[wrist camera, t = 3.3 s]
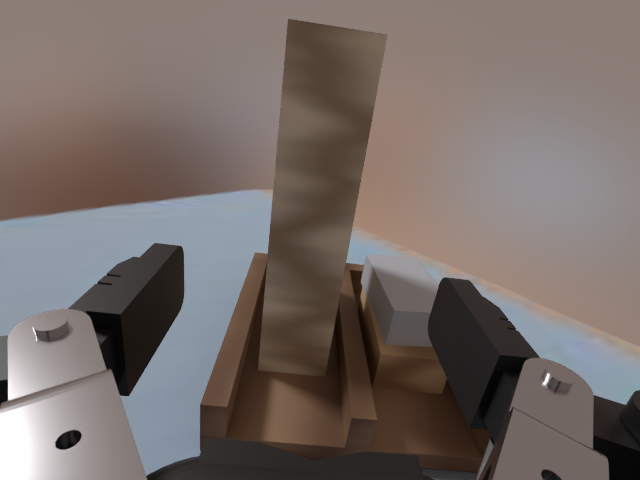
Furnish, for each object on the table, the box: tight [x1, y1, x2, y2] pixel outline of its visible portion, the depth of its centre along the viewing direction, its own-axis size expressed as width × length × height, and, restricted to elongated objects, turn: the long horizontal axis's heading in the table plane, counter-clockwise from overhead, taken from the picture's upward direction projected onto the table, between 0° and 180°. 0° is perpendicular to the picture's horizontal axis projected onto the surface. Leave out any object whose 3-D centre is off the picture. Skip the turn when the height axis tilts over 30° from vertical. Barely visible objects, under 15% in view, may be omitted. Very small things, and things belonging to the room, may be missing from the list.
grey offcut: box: [361, 254, 439, 347], centre depth 24 cm, size 4×7×2 cm, turn 6°
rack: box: [200, 253, 491, 472], centre depth 25 cm, size 15×16×3 cm
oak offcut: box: [358, 287, 447, 394], centre depth 25 cm, size 4×8×2 cm, turn 1°
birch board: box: [258, 19, 387, 377], centre depth 21 cm, size 4×7×18 cm, turn 1°
